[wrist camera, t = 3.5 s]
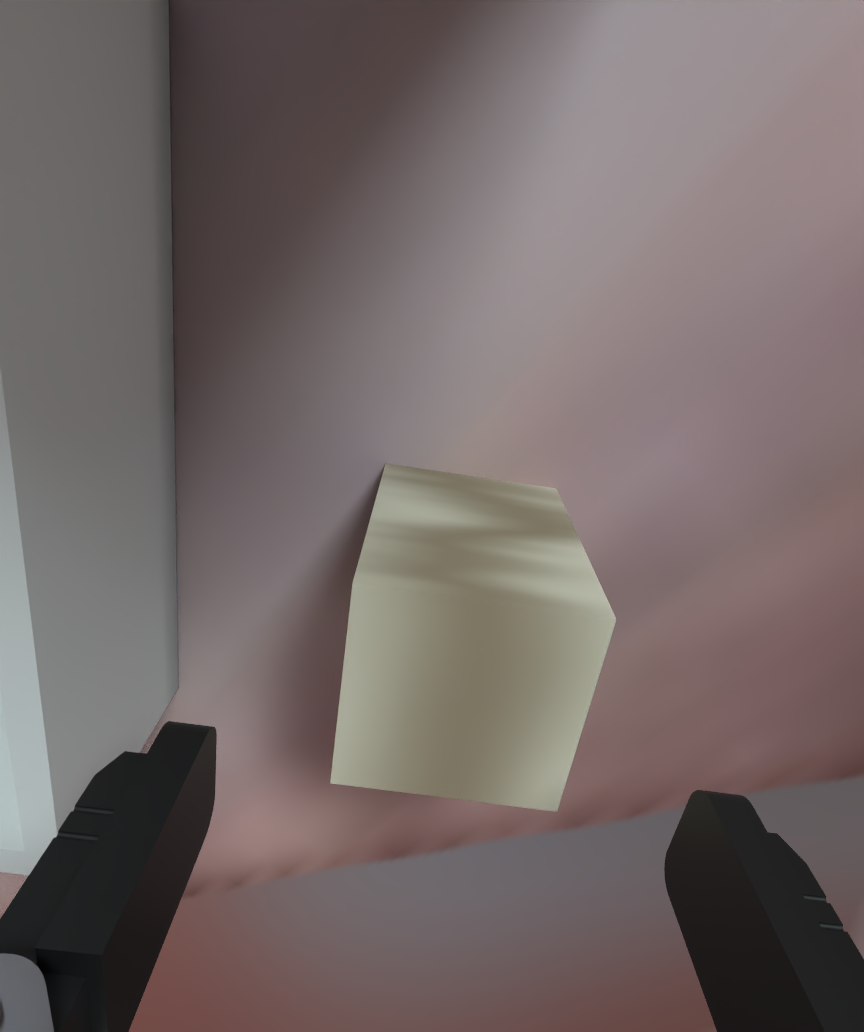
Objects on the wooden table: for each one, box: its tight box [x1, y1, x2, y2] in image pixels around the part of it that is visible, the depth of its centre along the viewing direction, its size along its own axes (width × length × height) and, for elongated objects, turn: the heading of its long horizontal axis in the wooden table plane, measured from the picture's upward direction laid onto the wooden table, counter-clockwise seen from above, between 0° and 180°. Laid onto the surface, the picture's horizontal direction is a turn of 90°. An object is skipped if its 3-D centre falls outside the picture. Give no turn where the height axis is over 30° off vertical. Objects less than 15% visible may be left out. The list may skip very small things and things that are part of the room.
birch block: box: [330, 464, 616, 812], centre depth 16 cm, size 5×5×7 cm
